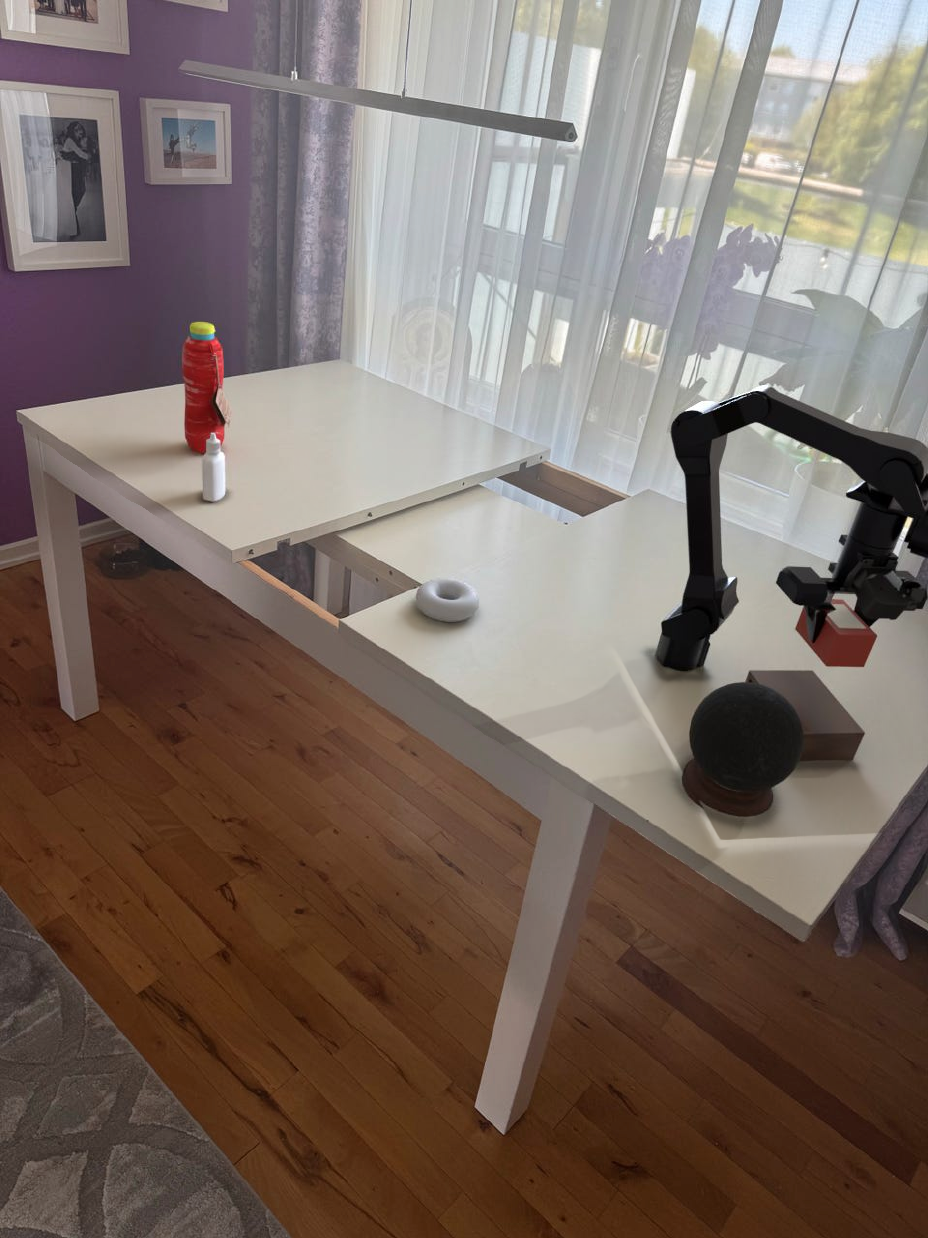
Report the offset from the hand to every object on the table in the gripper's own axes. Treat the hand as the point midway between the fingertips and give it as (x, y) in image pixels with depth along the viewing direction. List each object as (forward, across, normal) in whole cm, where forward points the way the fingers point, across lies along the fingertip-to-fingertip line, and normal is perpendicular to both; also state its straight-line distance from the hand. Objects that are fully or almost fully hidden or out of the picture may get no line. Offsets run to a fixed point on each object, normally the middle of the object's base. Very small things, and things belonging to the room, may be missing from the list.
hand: (830, 641), depth 122 cm
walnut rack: (+13, -3, -3) cm, 14 cm away
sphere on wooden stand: (+13, -17, -14) cm, 26 cm away
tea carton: (+1, 0, 0) cm, 1 cm away
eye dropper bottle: (+13, -85, +64) cm, 107 cm away
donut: (+13, -47, +27) cm, 56 cm away
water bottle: (+13, -88, +85) cm, 123 cm away
